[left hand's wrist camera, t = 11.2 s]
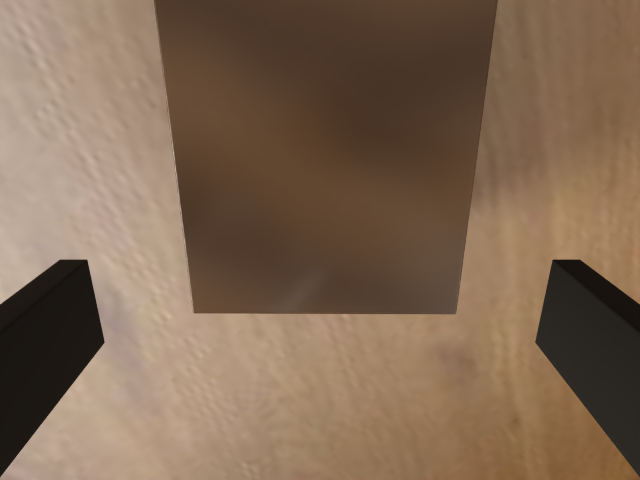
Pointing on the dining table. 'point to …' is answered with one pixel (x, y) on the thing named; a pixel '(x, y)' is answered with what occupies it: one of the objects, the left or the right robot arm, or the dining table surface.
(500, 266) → the dining table surface
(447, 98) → the cabinet
